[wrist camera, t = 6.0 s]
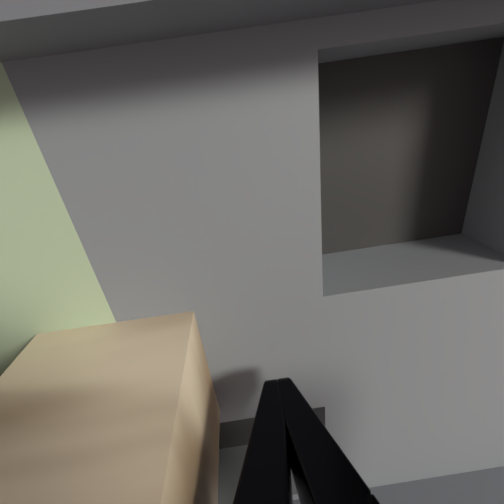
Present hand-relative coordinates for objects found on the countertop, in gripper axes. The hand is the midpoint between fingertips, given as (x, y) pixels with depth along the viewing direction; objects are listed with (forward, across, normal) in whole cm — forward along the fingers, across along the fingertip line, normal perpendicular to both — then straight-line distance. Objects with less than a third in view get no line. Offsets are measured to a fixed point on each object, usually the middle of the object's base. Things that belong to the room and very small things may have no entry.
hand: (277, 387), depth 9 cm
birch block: (+1, +4, 0) cm, 5 cm away
